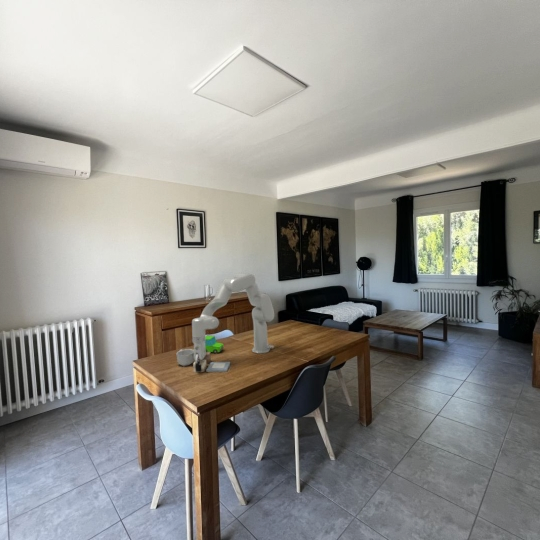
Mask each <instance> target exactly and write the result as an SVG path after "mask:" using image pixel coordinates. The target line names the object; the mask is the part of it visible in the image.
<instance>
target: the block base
mask: <svg viewBox="0 0 540 540" xmlns="http://www.w3.org/2000/svg"><path fill="white" fill-rule="evenodd" d="M198 361H199V360H198ZM192 365H193V366H192V367H193V373H204V372H205V371H206V370H207V364H206V360H201V371H196V367H195V361H193V362H192Z"/></svg>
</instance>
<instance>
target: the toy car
mask: <svg viewBox="0 0 540 540" xmlns="http://www.w3.org/2000/svg"><path fill="white" fill-rule="evenodd" d="M205 336H206V341H205V346H206V352H211V353H214V354H215V355H216V354H218V353H220V352H221V351H222V350H223V349H224V345H225V344H224V343H222V342H217V339H216V336H214V335H205Z"/></svg>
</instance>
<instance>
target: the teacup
mask: <svg viewBox="0 0 540 540" xmlns="http://www.w3.org/2000/svg"><path fill="white" fill-rule="evenodd" d="M175 355H176V361H177V363H178V364H179V365H180V366H183V367H187V366H189V365H193V363H194V362H195V359H194V348H185V349H179V351H177V352H176V354H175Z"/></svg>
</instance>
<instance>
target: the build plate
mask: <svg viewBox="0 0 540 540" xmlns="http://www.w3.org/2000/svg"><path fill="white" fill-rule="evenodd" d="M230 365H231V361H210V363H209V364H208V367H206V369H205V371H206V373H207V372H209V373H210V372H211V373H213V372H215V373H216V372H228V370H229V368H230Z"/></svg>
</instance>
